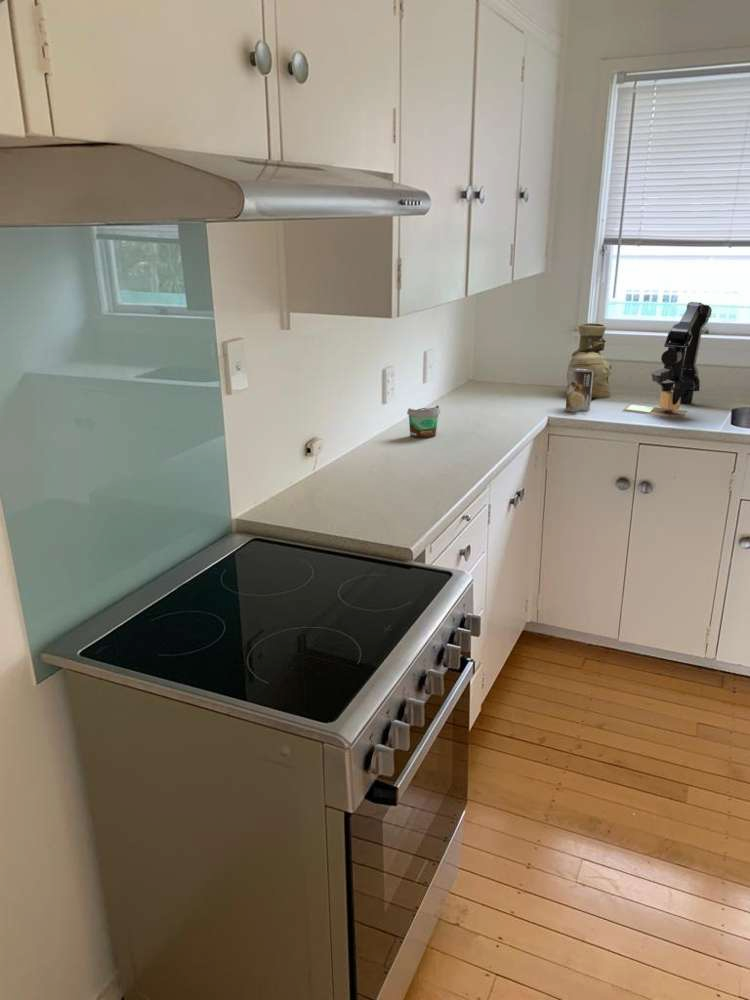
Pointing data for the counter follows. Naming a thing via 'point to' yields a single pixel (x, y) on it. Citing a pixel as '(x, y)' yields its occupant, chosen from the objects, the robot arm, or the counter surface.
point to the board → (661, 412)
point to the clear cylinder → (668, 411)
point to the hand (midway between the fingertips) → (669, 402)
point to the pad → (640, 408)
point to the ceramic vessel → (593, 358)
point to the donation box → (668, 401)
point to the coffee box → (579, 389)
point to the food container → (423, 422)
